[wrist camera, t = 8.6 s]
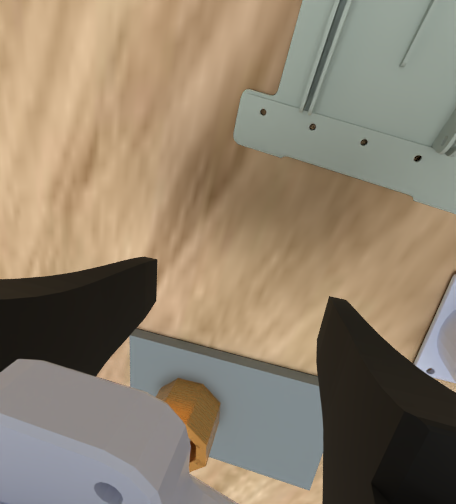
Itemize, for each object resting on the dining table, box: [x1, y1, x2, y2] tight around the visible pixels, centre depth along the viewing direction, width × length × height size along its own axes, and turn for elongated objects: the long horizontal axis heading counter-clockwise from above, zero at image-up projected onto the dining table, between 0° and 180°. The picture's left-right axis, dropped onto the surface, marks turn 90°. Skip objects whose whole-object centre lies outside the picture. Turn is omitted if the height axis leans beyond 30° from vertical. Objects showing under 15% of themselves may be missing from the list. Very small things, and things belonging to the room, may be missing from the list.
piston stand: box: [130, 329, 323, 490], centre depth 24 cm, size 18×12×6 cm, turn 85°
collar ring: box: [156, 378, 221, 472], centre depth 25 cm, size 6×6×4 cm
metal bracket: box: [234, 0, 456, 214], centre depth 15 cm, size 14×6×15 cm
